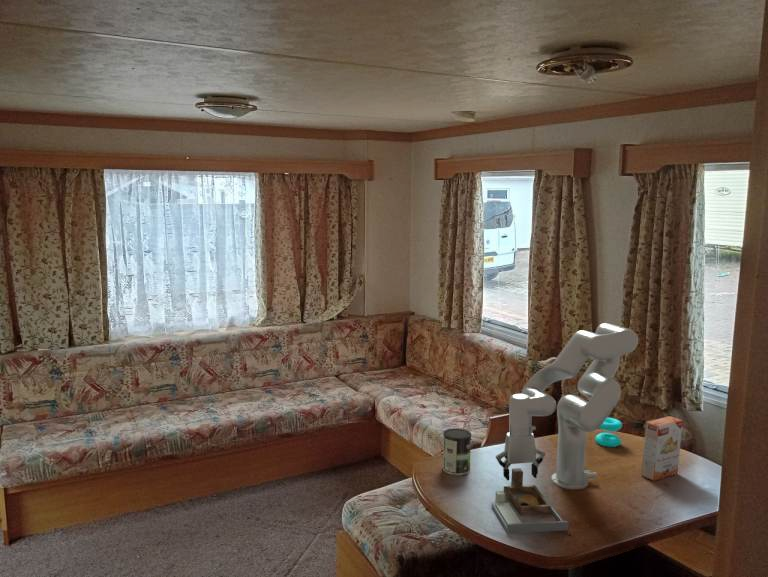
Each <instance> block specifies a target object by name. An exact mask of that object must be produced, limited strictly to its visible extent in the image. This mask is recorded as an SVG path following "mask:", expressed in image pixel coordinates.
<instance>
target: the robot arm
mask: <svg viewBox="0 0 768 577" xmlns="http://www.w3.org/2000/svg"><path fill="white" fill-rule="evenodd" d="M638 345H639V337H638V334H637V333H636V332H635V331H634V330H632V329H630V328H627V327H624V326H622V325H621V326H620V325H617V324H614V323H610V322H602V323H601V324H599V325H598V326H597V327H596V330H595V332H592V331H589V330H582V329H581V330H578V331H576V332H575V333H574V334H572V336H571V337H570V339H569V341H567V343H566V344H565V345H564V347H563V348H562V350H561V351H560V352H559V354H558V355H557V356H556V358H555V359H554V361H553V362H552V363H550V364H547V365H546V366H543V368H541V369H540V370H538V371H537V372H536V373H534V374H533V375H532V376H531V377H530V378H529V380H528V381H527V382H526V383H525V385H524V386H523V388H522V391H521V393H514V394H512V395H511V396H510V397H509V399H508V411H509V412H508V425H509V427H508V429H509V430H508V431H509V432H507V433H506V437H505V440H504V441H505V442H504V451H501V452H500V453H498V454H497V455H495V459H496V461H497V462H498V464H499V465H500V466H501V467H502V469H503V473H502V474H503V477H504V478H505V479H506V481H510V469H509V468H510V466H512V465H516V464H517V465H518V464H528V463H531V475H532V476H533V478H534V479H537V476H538V475H539V474H538V473H539V466H540V465H541V464H542V462H543V461H544V458H545V456H546V452H544V451H543V450H540V449H538V448H536V440H535V436H534V433H533V431H536V429H537V428H536V426H535V425H532V422H533V418H532V417H547V416H551V415H553V413H554V412H555V411H556V413H557V414H556V415H557V423H558V433H557V434H558V435H557V437H558V438H557V448H556V449H557V450H556V451H557V453H556V469H555V471H556V472H555V473H553V474H552V475H551V482H552V484H554V485H555V486H557V487H559V488H563V489H566V490H583V489H585V488H587V487H588V485H589V479H598V473H597V472H596V471H594V472H591V470H589V469H587V470H585V464H586V449H587V432H588V433H592V432H595V431H597V430H598V429H599V427H600V426H601V425H602V424H603V422H604V421H605V420H606V418H607V417H609V415H610V414H611V413H612V411H613V410H614V408H615V407H616V406H617V404H618V403H619V400H620V398H621V394H622V389H621V385H620V384H619V382H618V381H617V380H615V379H614V376H615V375H616V372H617V371H618V369H619V367H620V364H621V363H620V362H621V361H620V360H621V356H624V355H627V354H630V353H632V352H634V350H635V349H636V348H637V347H638ZM588 359H593V360H592V362H591V363H590V364H589V366H588V367H587V369H586V370H585V371H584V373H583V374H582V376H581V377H580V378H579V380H578V382H577V390H578V392H579V393H580V394H581V395H582V396H584V397H586V398H587V399H589V400H587V399H584V398H582V397H581V396H577V395H575V394H566V395H564V396H562V397H561V398H560V399H559V400H558V402H557V401H556V400H555V398H554V397H553V396H552V395H550V394H548V393H546V392H545V390H546V389H547V388H548V387H549V386H550V385H552V384H554V383H556V382H558V381H559V382H560V381H563V380H567V379H572V378H575V377H576V376H577V374H578V373H579V371H580V370H581V369H582V367H583V366H584V364H585V363H586V362H587V361H588ZM537 455H539V456H537ZM503 458H504V459H505V460H504V461H503V460H502V459H503Z"/></svg>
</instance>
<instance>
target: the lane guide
mask: <svg viewBox="0 0 768 577" xmlns="http://www.w3.org/2000/svg"><path fill="white" fill-rule="evenodd" d="M508 503H509V502H508ZM509 504H510V506H511V507H512V509H513V510H514V512H515V513H516V515H517V516H518V518H519V519H520V521H521V522H522V523H511V524H506V523H505V521H504V519H503V518H502V516H501V514H500V513H499V511H498V509H497V508H496V506H495V502H491V508H492V510H493V512H494V513H495V515H496V517H497V519H499V522H500V523H501V524H502V527H503V528H504V530H505V532H506V533H507V534H517V533H520V534H521V533H541V532H542V533H543V532H559V531H563V532H564V531H565V532H566V531H568V528H569V527H568V526H569V521H568V520H563V519H562V518H561V516H560V515H559V513H558V512H557V511H556V510H555V508H554V507H553V505H551V514H552V515H553V516H554V518H555V519H556V521H537V522H536V521H534V522H524V520H523V518H522V517H521V515H519V514H518V512H517V511H516V509H515V508H514V506H513V505H512V503H511V502H510V503H509Z"/></svg>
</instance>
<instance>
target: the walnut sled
mask: <svg viewBox="0 0 768 577" xmlns="http://www.w3.org/2000/svg"><path fill="white" fill-rule="evenodd" d="M510 480H511V482H510V483H511V484H510V485H507V486H505V485H504V486H503V490H502V491H503V492H504V493H505V499H507V502H508V503H510V502H511V503H512V505H513V506H514V508H515V509H516V511H517V512H518V514H519V515H520V516H521V515H522V516H524V515H525V516H526V515H542V514H543V515H544V514H545V515H546V514H547V515H548V514H550V515H551V514H552V512H551V506H552V505H551V504H550V502H549V501H548V500H547V499H546V497H545V496H544V495H543V493H541V491H540V490H539V489H538V487H537V486H536V484H534V485H533V484H530V485H528V484H527V485H523V484H524V483H523V482H524V471H523V469H521V467H520V468H517V467H516V468H511V479H510ZM529 494H531V495H533V496H535V497H537V498H538V501H539V505H529V506H520V505H519V504H518V502H517V500H516V498H515V497H514V495H529Z"/></svg>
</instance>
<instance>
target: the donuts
mask: <svg viewBox="0 0 768 577" xmlns="http://www.w3.org/2000/svg"><path fill="white" fill-rule="evenodd" d="M599 428H600V429H601V430H603V431H607V432H600V433H599V434H597V435H596V436H595V442H596V443H597V444H598V445H600V446H603V447H606V446H607V448H616V446H617V447H619V446H620V445H621V444H622V440H621V438H620V437H619V436H618V435H617V434H614V433H612V432H617V431H620V430H621V429H622V428H623V423H622V422H621V421H620V420H619V419H616V418H615V417H614V418H613V417H609V416H608V417H607V418H606V420H605V421H604V422H603V424H602V425H601V426H600V427H599ZM599 428H598V429H599ZM610 432H611V433H610Z"/></svg>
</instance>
